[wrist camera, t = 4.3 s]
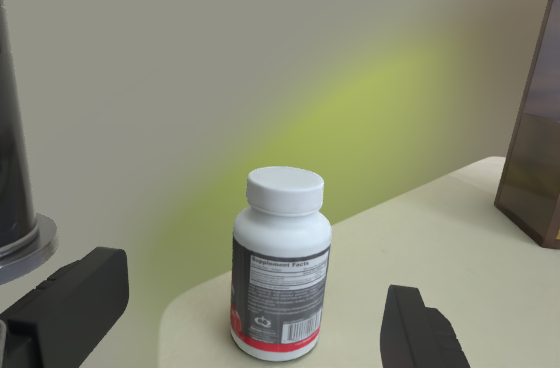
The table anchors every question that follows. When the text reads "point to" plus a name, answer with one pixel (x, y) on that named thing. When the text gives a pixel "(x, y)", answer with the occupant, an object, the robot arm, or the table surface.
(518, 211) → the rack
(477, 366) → the table surface
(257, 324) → the pill bottle
